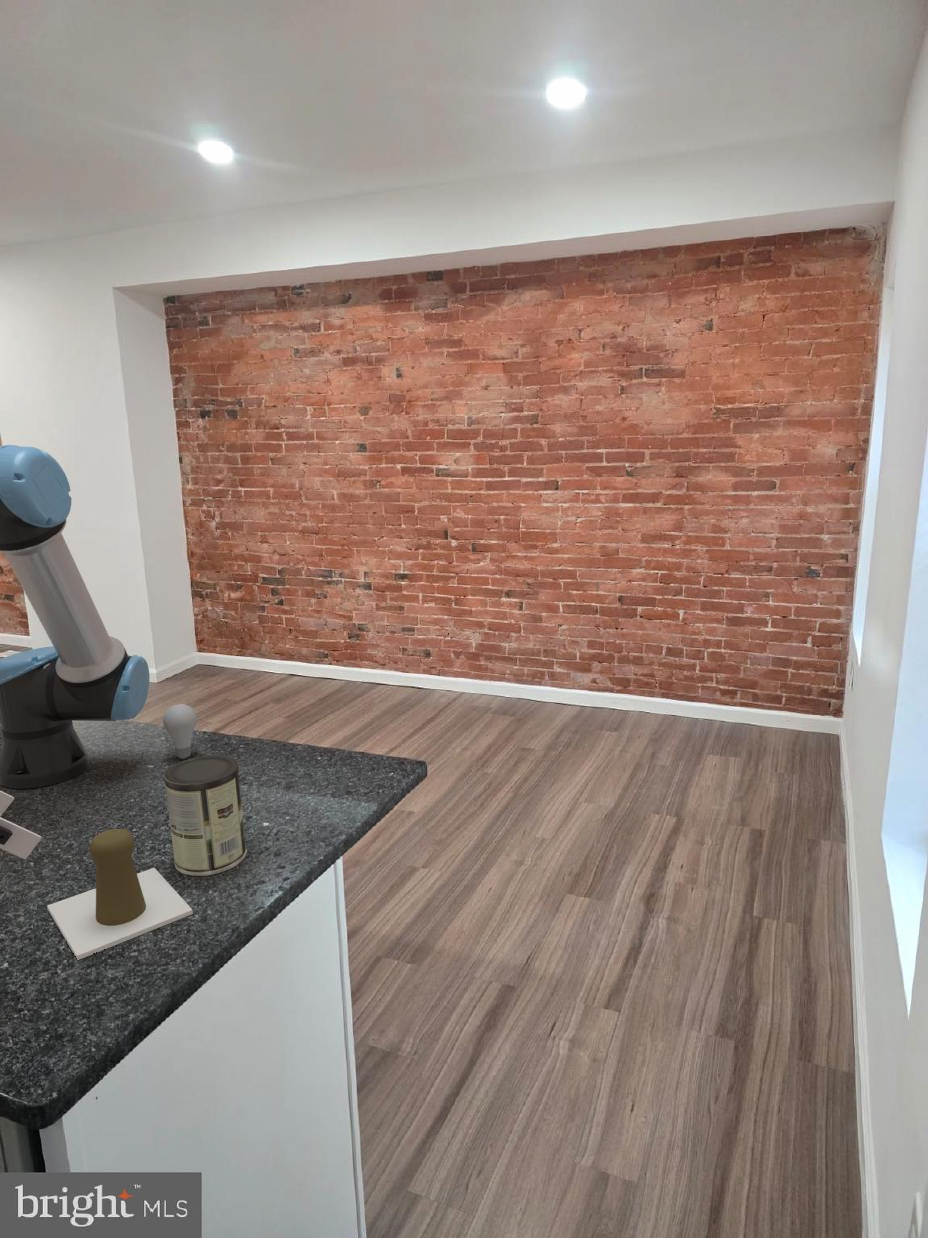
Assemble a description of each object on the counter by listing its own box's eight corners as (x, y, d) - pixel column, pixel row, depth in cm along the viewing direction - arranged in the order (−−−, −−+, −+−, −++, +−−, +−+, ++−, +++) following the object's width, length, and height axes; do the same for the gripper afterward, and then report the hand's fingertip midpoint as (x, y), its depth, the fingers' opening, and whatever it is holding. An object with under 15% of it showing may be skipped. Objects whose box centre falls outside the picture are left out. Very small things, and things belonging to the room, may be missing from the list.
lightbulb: (161, 760, 153) (154, 706, 151) (187, 750, 158) (182, 697, 155) (180, 767, 150) (174, 712, 147) (207, 756, 155) (202, 703, 152)
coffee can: (197, 838, 123) (187, 752, 120) (258, 843, 121) (251, 756, 118) (159, 873, 113) (147, 781, 110) (225, 880, 111) (216, 786, 108)
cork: (127, 928, 99) (116, 848, 97) (85, 923, 101) (73, 844, 98) (155, 900, 105) (145, 824, 103) (114, 896, 106) (104, 821, 104)
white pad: (47, 909, 105) (47, 905, 105) (154, 871, 113) (154, 867, 113) (77, 960, 94) (76, 956, 94) (192, 914, 103) (192, 909, 103)
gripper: (-198, 738, 90) (-24, 817, 102) (-190, 813, 71) (21, 899, 84) (-148, 683, 92) (16, 767, 105) (-128, 742, 73) (69, 836, 86)
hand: (19, 826), depth 94 cm, fingers open, 13 cm apart
